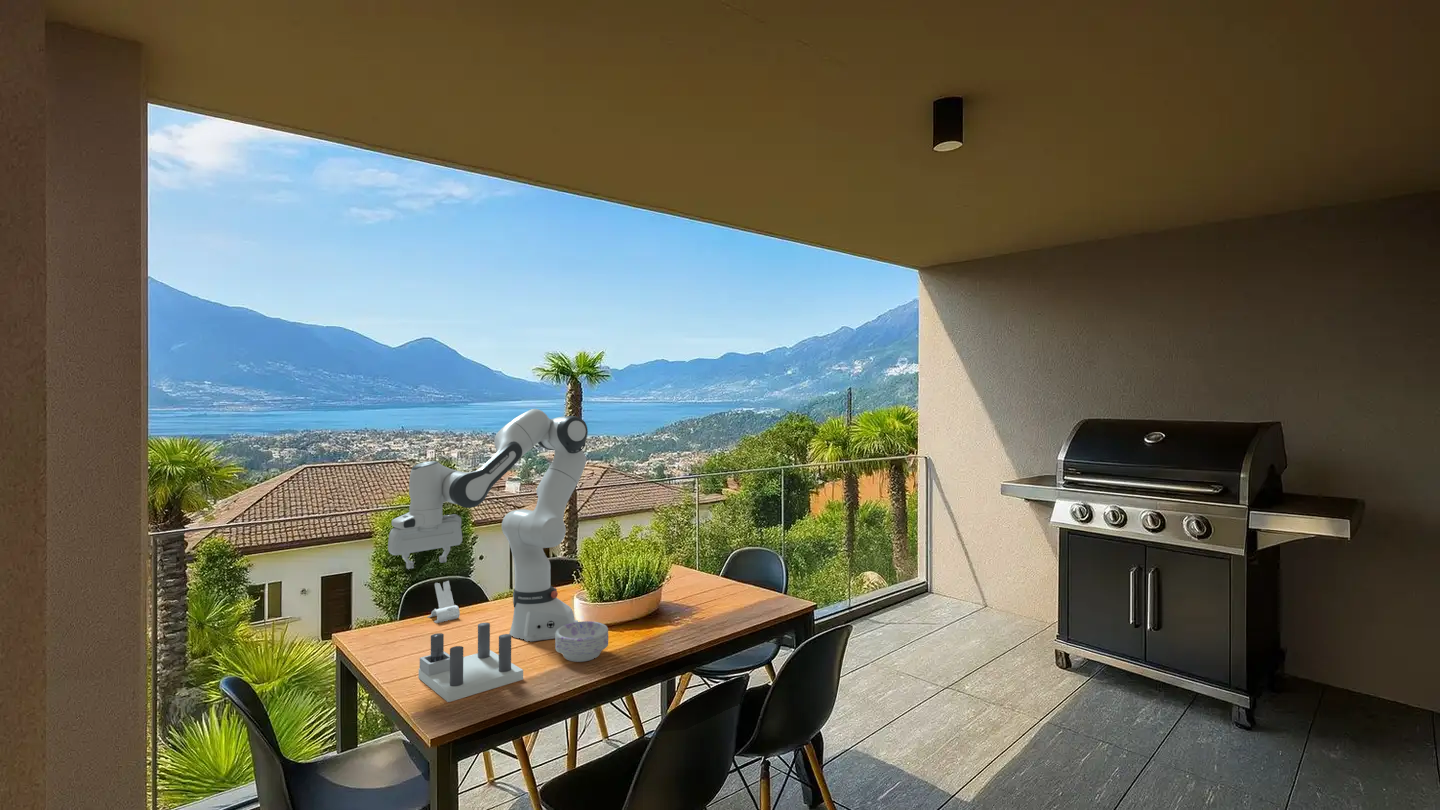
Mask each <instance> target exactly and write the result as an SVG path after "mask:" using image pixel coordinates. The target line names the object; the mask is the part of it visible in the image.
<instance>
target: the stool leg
mask: <svg viewBox="0 0 1440 810" xmlns="http://www.w3.org/2000/svg"><path fill="white" fill-rule="evenodd" d="M444 636H445V634H444V633H441V632H440V633H433V634H431V635H430V655H431V663H433V662H437V661H440V660H444V649H445V648H444V647H445V646H444V645H445V643H444V642H445V641H444Z"/></svg>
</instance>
